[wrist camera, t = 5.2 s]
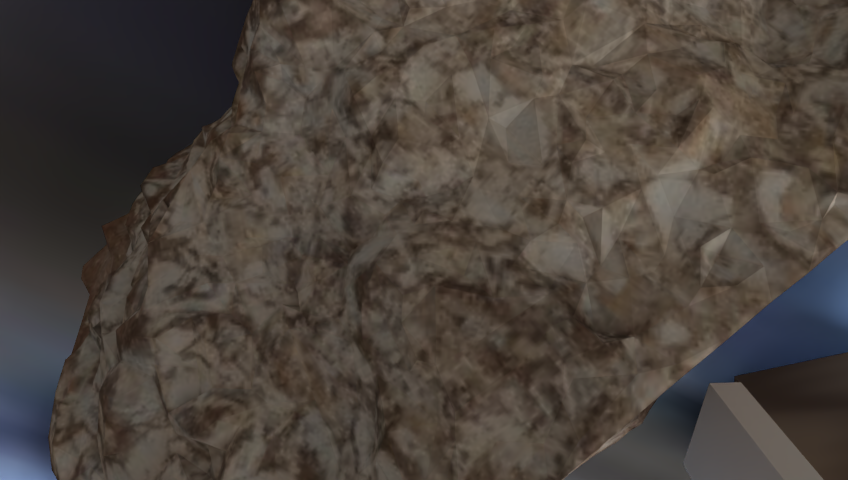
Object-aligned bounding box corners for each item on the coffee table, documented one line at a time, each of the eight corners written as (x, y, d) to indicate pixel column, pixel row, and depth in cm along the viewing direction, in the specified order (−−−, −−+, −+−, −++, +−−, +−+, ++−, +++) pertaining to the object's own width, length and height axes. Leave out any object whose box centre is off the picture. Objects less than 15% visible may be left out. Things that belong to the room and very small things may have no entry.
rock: (421, 654, 13) (167, 1419, 4) (197, 354, 16) (-269, 326, 6) (891, 167, 14) (1692, -272, 4) (597, -30, 17) (704, -546, 7)
